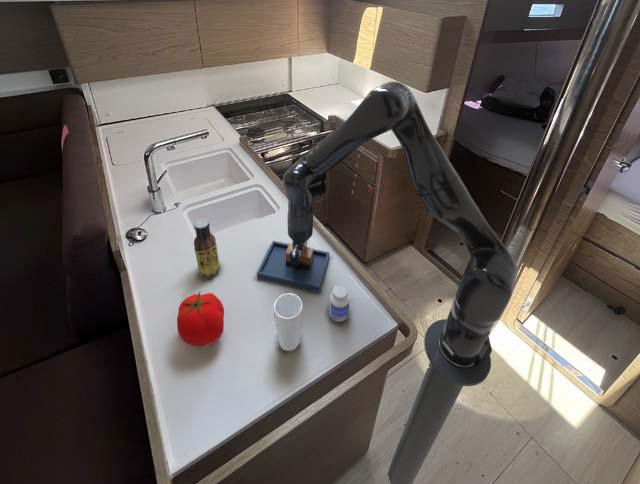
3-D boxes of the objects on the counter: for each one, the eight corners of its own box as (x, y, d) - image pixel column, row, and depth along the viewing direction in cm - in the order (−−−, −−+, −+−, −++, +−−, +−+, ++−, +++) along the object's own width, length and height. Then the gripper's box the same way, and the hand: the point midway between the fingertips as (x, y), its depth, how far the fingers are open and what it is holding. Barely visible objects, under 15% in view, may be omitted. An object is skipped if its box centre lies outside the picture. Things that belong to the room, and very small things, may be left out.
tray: (329, 257, 106) (329, 252, 105) (319, 292, 95) (319, 287, 94) (273, 245, 110) (272, 240, 109) (257, 278, 99) (256, 272, 98)
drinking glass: (273, 333, 84) (270, 297, 77) (298, 325, 86) (297, 289, 79) (279, 359, 79) (277, 323, 71) (306, 349, 81) (306, 313, 73)
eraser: (313, 257, 105) (313, 247, 102) (309, 270, 101) (309, 259, 98) (290, 253, 106) (289, 242, 104) (285, 264, 102) (284, 253, 100)
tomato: (207, 366, 77) (198, 335, 70) (170, 342, 82) (158, 310, 75) (239, 324, 86) (233, 293, 79) (204, 305, 91) (196, 274, 84)
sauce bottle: (202, 282, 97) (190, 234, 87) (197, 268, 101) (185, 220, 91) (223, 273, 100) (214, 226, 90) (217, 260, 104) (208, 213, 94)
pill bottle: (351, 318, 88) (354, 296, 83) (333, 325, 87) (335, 302, 82) (343, 301, 93) (345, 279, 88) (325, 307, 91) (327, 285, 86)
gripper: (306, 241, 88) (305, 282, 97) (318, 208, 100) (316, 247, 109) (280, 236, 89) (281, 276, 98) (295, 204, 102) (295, 242, 110)
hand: (300, 261), depth 104 cm, fingers closed on eraser, 5 cm apart
